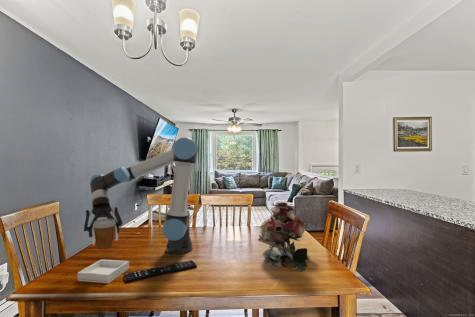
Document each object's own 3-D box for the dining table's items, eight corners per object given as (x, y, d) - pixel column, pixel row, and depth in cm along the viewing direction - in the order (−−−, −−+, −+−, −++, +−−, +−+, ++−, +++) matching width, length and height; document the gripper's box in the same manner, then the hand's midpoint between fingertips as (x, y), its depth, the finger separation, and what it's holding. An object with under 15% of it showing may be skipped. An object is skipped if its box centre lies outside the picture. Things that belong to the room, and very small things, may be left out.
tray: (129, 268, 120) (129, 261, 120) (108, 283, 105) (108, 274, 106) (101, 266, 122) (101, 259, 122) (77, 280, 108) (77, 272, 108)
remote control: (123, 277, 112) (123, 272, 112) (191, 263, 128) (191, 259, 128) (124, 284, 105) (124, 279, 105) (196, 268, 121) (196, 264, 121)
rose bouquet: (307, 251, 143) (306, 198, 143) (308, 273, 114) (307, 208, 115) (262, 247, 149) (262, 197, 149) (253, 267, 121) (253, 205, 121)
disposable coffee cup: (120, 245, 117) (120, 219, 117) (103, 252, 108) (103, 224, 108) (105, 242, 120) (105, 218, 120) (87, 249, 111) (87, 222, 111)
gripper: (122, 203, 133) (129, 241, 120) (74, 207, 120) (76, 250, 107) (124, 194, 129) (132, 232, 116) (75, 197, 116) (78, 241, 103)
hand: (105, 241), depth 112 cm, fingers closed on disposable coffee cup, 8 cm apart
